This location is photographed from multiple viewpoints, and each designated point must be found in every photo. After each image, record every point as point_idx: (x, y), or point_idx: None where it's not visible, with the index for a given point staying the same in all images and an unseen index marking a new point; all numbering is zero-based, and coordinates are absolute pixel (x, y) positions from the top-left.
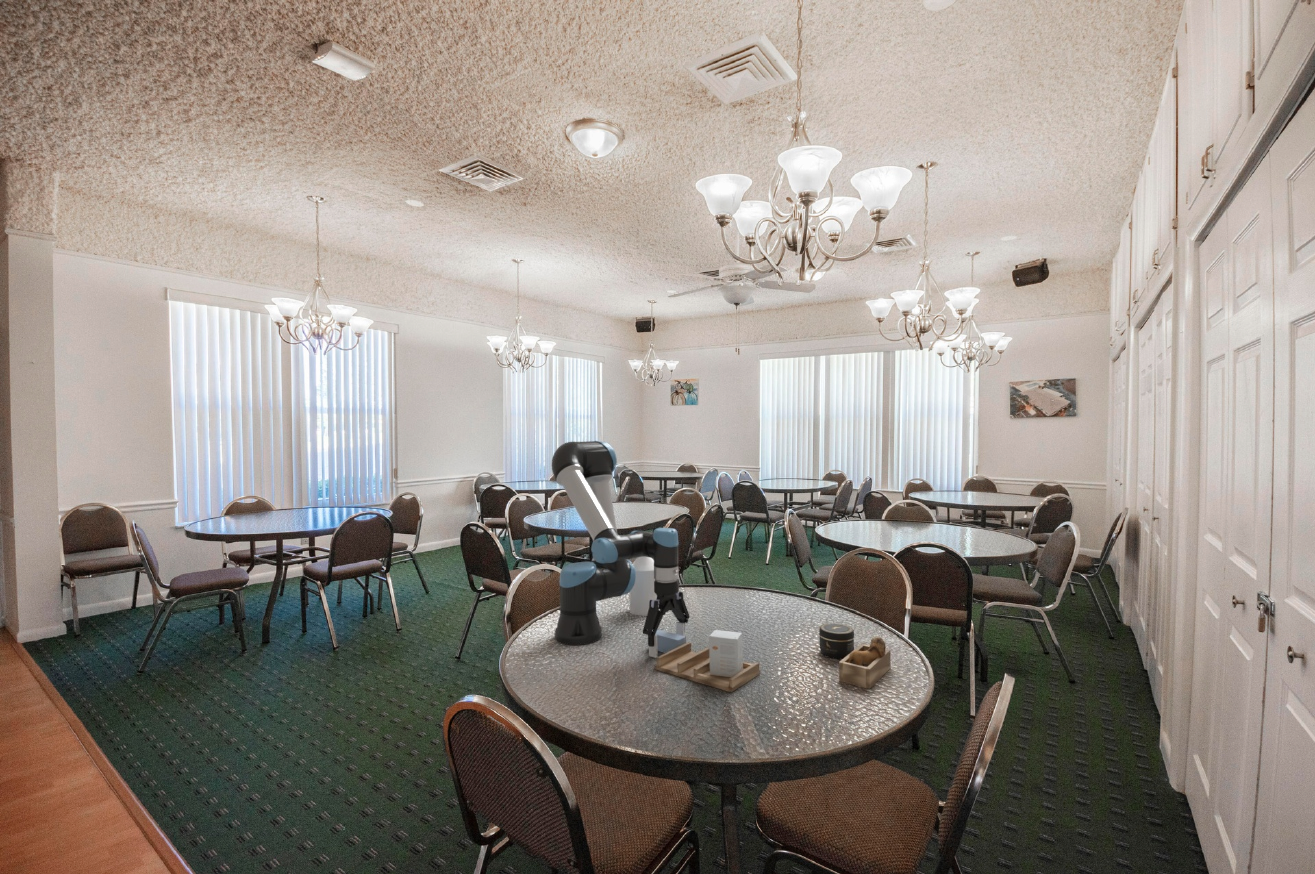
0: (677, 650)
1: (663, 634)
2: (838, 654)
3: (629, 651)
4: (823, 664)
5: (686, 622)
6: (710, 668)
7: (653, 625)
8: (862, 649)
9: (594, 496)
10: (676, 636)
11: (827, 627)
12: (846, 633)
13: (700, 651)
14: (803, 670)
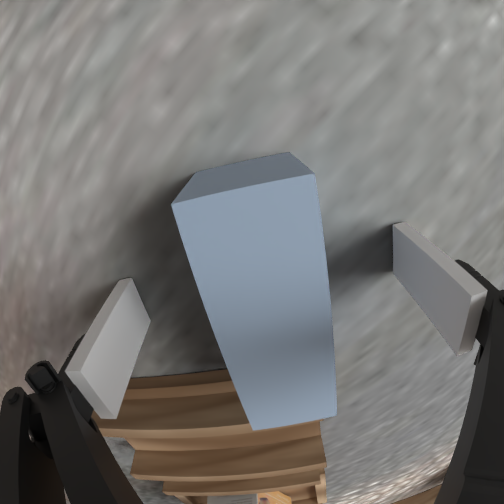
0: (203, 433)
1: (253, 323)
2: None
3: (67, 139)
4: (428, 479)
5: (476, 362)
6: (208, 500)
7: (60, 479)
8: None
9: None
10: (296, 395)
11: None
12: None
13: (267, 473)
14: (386, 490)
